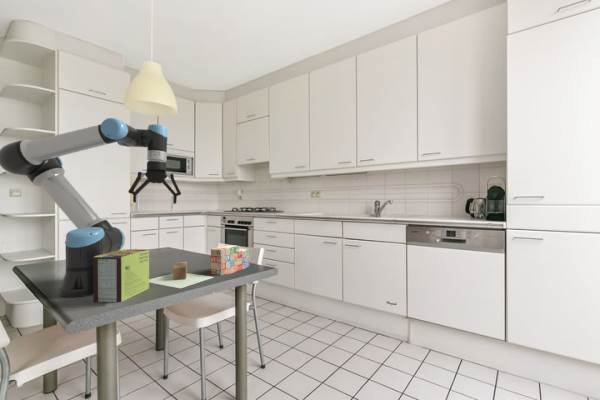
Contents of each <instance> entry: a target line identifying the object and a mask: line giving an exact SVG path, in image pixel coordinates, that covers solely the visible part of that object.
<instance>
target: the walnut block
mask: <svg viewBox="0 0 600 400" xmlns="http://www.w3.org/2000/svg"><path fill="white" fill-rule="evenodd" d="M172 273H173V280H184V279H186V275H187V273H188V262H187V261H181V262H180V261H178V262H175V263H174V265H173V267H172Z"/></svg>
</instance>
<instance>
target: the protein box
mask: <svg viewBox="0 0 600 400" xmlns="http://www.w3.org/2000/svg"><path fill="white" fill-rule="evenodd" d="M149 279H150V250H149V249H145V248H144V249H142V248H141V249H137V248H135V249H134V248H133V249H131V248H129V249H128V248H125V249H123V248H122V249H121V250H119V251H115V252H110V253H107V254H103V255H99V256H95V257H93V294H92V295H93V301H92V302H93V303H98V304H99V303H101V304H107V303H110V302H114V303H116V302H117V303H118V302H119V303H122V302H124V301H126V300H128V299H130V298H132V297H134V296H136V295H138V294H141V293H142V292H144V291H146V290H149V289H150V283H149Z"/></svg>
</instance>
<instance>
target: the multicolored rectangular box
mask: <svg viewBox="0 0 600 400" xmlns="http://www.w3.org/2000/svg"><path fill="white" fill-rule="evenodd" d="M250 261H251V259H250V249H249V248H241V247H240V248H239V245H233V244H227V245H222V246H218V247H213V248H210V275H218V276H223V275H225V274H226V275H231V274H233V273H236V272H238V271H242V270H244V269H247V268H250V265H251V264H250V263H251V262H250Z"/></svg>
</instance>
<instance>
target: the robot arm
mask: <svg viewBox="0 0 600 400" xmlns="http://www.w3.org/2000/svg"><path fill="white" fill-rule="evenodd" d="M114 143H117V144H118V145H119V146H121V147H127V148H130V147H132V148H133V147H134V148H135V147H136V148H139V147H140V148H147V154H146V160H147V161H146V171H145V172H141V171H138V172H137V176H136V178H135V180H134V181H133V183H132V184H131V186H130V188H129V189H128V191H127V192H128V194H132V195H133V197H132V202H133V203H135V211H136V212H137V211H138V212H139V211H140V195H139V193H140V192H141V191H142V190H143V189H145V188H146V186H148V185H149V184H150V183H151V184H163V185H164V186H165V188H166V189H167V190H168V191H169V192H170V193H171V195H172V196H171V201H170V203H171V204H170V208H171V209H170V211H171V212H174V205H176V204H177V201H178V200H177V199H178V196H181V195H182V193H181V190H180V188H179V186H178V184H177V183H176V180H175V175H174V173H167V157H168V155H167V154H168V151H167V150H168V128H167V127H166V126H165V125H161V124H148V126H147V128H146V129H144V128H143V129H142V128H134V127H133V126H130V125H128V124H127V123H125V122H124V121H122V120H120V119H117V118H116V117H109V118H105V119H104V120H103V121H102V122H101V124H96V125H93V126H89V127H85V128H84V127H83V128H80V129H75V130H72V131H68V132H64V133H59V134H55V135H51V136H47V137H43V138H39V139H36V140H35V139H34V140H30V139H23V140H18V141H13V142H10V143H8V144H6V145H3V146H1V148H0V167H1V168H2V169H4V171H6V172H8V173H10V174H13V175H18V176H26V177H27V178H28V180H29V181H30V182H31V183H32V184H33V185H35V186H37V187H41V188H42V189H43V190H44V192H46V194H47V195H48V196H49V197H50V198H51V199H52V201H53V202H54V203H55V204H56V205H57V206H58V207H59V209H60V210H61V211H62V212H63V213H64V215H65V216H66V217H67V218H68V219H69V220H70V221H71V223H72V224H73V225H74V227H75V228H76V229H72V230H69V231H68V232H67V233H66V234H65V242H64V244H65V273H64V276H63V280H62V282H61V285H60V287H59V296H60V297H63V298H79V297H85V296H87V297H88V296H92V295H93V257H95V256H99V255H103V254H107V253H110V252H115V251H119V250H123V247H124V246H125V243H126V236H125V233H124V232H123V231H122V230H121V229H120V228H118V227H116V226H112V224H111V223H110V222H109V221H108V220H107V219H106V218H105V219H102V218H101V217H100V216H99V215H98V214H97V212H96V211H95V210H94V209H93V208H92V207H91V206H90V205H89V204H88V203H87V201H86V200H85V199H84V198H83V196H82V195H81V194H80V193H79V192H78V191H77V189H76V188H75V187H74V186H73V185H72V183H70V181H69V180H68V179H67V177H65V172H66V170H65V169H64V168H63V166H64V165H63V164H64V163H63V161H62V159H61V158H60V157H64V156H66V155H70V154H74V153H78V152H82V151H86V150H90V149H93V148H98V147H102V146H105V145H109V144H114ZM144 176H145V177H146V178H147V179H145V180H144V182H143V183H142V184H141V185H140V186H138V184H139V183H140V181H141V180H142V178H144ZM167 178H168V179H170V181H171V182H172V185H173V186H174V189H175V190H176V192H175V190H174V189H172V186H170V185H169V184H168V182H167V181H166V179H167ZM137 186H138V187H137ZM135 189H136V190H135Z"/></svg>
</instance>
